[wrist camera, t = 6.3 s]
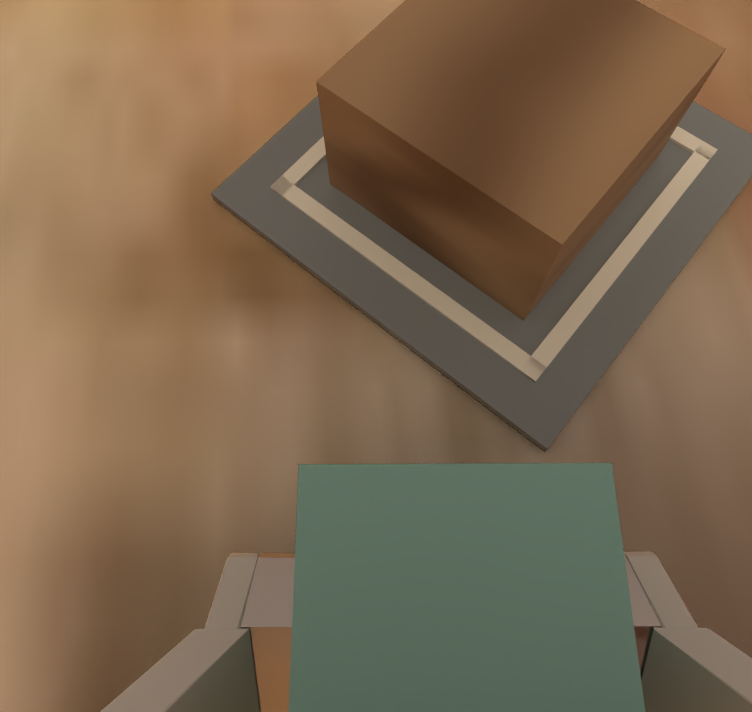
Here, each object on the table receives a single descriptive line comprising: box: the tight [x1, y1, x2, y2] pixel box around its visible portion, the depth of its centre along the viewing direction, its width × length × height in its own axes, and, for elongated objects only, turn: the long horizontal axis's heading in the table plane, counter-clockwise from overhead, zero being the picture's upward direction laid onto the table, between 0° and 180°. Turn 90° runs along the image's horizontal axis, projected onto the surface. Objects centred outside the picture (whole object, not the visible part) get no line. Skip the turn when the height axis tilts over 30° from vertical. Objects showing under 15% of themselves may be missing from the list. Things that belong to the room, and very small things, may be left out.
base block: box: [316, 0, 725, 321], centre depth 17 cm, size 7×7×4 cm
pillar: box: [288, 463, 645, 712], centre depth 11 cm, size 4×4×8 cm
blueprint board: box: [211, 96, 752, 451], centre depth 19 cm, size 12×12×1 cm
